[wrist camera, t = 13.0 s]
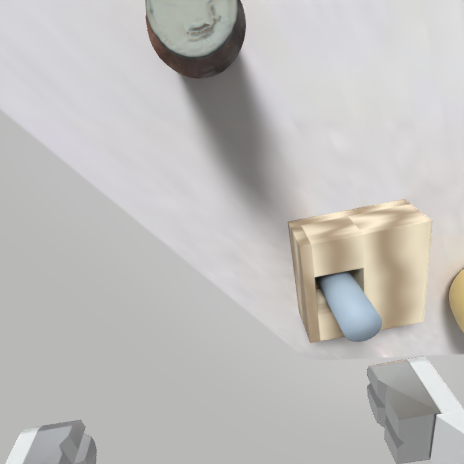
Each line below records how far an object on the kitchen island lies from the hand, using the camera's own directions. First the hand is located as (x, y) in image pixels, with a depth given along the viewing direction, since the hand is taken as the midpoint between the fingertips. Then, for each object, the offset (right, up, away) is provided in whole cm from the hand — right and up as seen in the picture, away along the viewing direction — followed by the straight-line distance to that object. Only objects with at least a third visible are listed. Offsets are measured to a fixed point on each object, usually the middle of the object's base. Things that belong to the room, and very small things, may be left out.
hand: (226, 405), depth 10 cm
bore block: (+15, +1, +36) cm, 39 cm away
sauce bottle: (-3, +23, +23) cm, 33 cm away
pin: (+12, 0, +34) cm, 36 cm away
